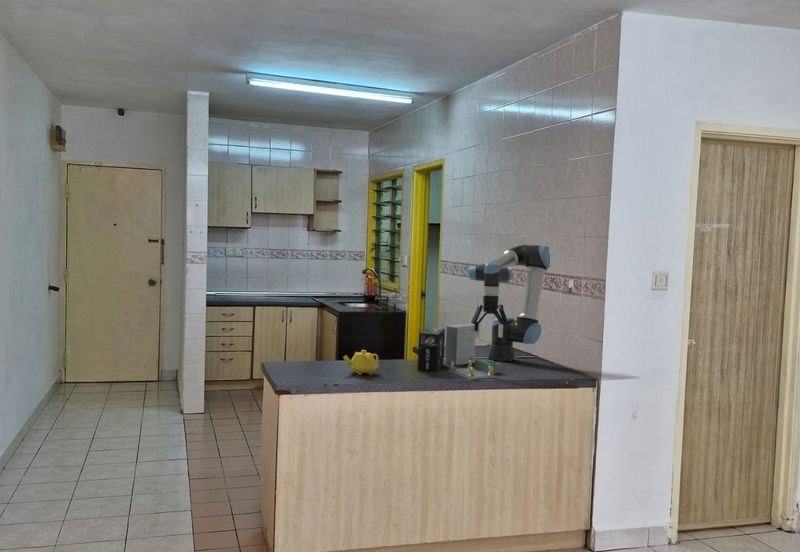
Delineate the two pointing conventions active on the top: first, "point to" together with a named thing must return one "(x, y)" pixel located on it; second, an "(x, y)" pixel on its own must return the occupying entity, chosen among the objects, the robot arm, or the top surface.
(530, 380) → the top surface
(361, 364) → the teapot
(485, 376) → the chassis
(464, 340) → the hard drive box
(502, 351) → the robot arm
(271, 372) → the top surface
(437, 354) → the box
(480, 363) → the green rectangular block
